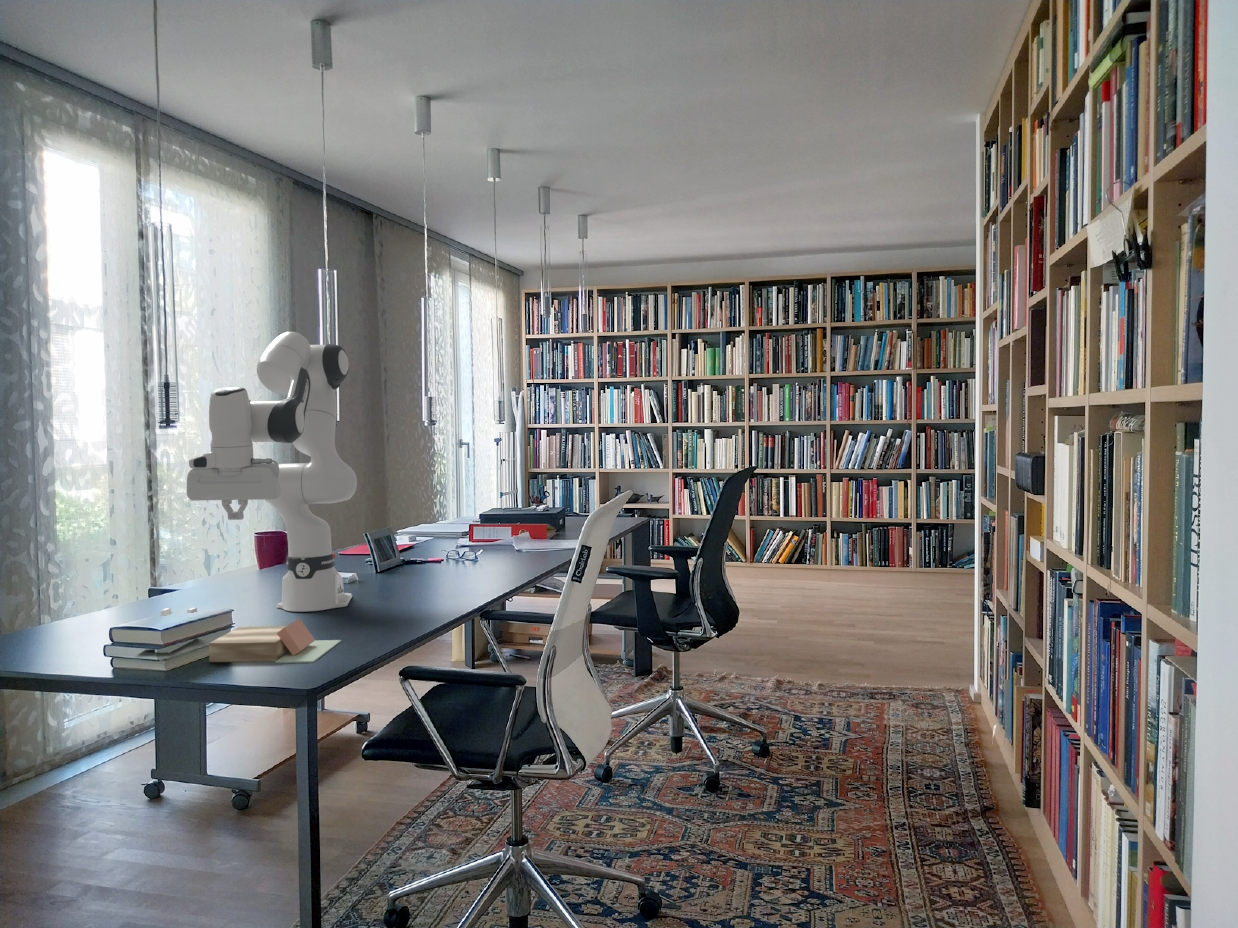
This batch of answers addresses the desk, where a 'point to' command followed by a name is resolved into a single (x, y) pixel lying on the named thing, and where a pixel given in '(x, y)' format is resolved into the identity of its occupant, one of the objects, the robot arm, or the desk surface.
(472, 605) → the desk surface
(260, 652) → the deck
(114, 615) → the desk surface
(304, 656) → the mat
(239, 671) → the desk surface
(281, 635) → the terracotta brick
